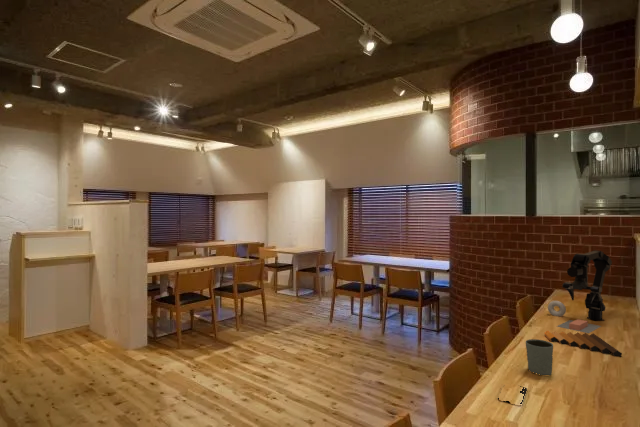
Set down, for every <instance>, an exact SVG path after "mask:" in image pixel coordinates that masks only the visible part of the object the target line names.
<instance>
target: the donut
mask: <svg viewBox="0 0 640 427" xmlns="http://www.w3.org/2000/svg"><path fill="white" fill-rule="evenodd" d="M555 307H557V308H559V310H558V311H557V310H555ZM547 310H548V312H549V314H550V315H552V316H554V317H562V316H564V315H565V314H566V312H567V308H566V306H565V304H564V303H563V302H561V301H559V300H551V301H550V302H549V303H548V305H547Z"/></svg>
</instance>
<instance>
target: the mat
mask: <svg viewBox="0 0 640 427" xmlns="http://www.w3.org/2000/svg"><path fill="white" fill-rule="evenodd" d="M573 321H574V320H571V319H569V320H567V321H565V322H562V323H561V324H558V325H556V327H557V328H562V329H565V330H566V329H567V330H572V331H576V332H581V333H587V334H590V333H592V332H594V331H595V330H597V329H599V328H602V326H601V325H597V324H593V323H588V326H587V327H585V328H584V329H582V330H580V331H578V330H574V329H569V323H571V322H573Z"/></svg>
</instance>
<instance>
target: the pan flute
mask: <svg viewBox="0 0 640 427" xmlns="http://www.w3.org/2000/svg"><path fill="white" fill-rule="evenodd" d="M543 334H544V336H545V337H546V339H548V340H549V342H550V343H559V344H560V345H569V346H570V347H575V348H576V347H579V348H580V349H581V350H590V351H591V352H598V353H599V352H600V353H601V354H603V355H612V356H613V357H619V358H620V357H622V355H623V353H622V352H621V351H619V350H618V349H617V348H615V347H614V346H612V345H611V344H610V343H608V342H607V341H605V340H603V338H601V337H599V336H598V335H596V334H595V333H591V334H589V333H585V332H583V333H582V334H581V333H579V332H576V333H573V332H571V331H569V332H568V333H566V332H564V331H561V332H558V331H557V330H554V331H553V332H551V331H549V330H546V331H545V332H544V333H543Z"/></svg>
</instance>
